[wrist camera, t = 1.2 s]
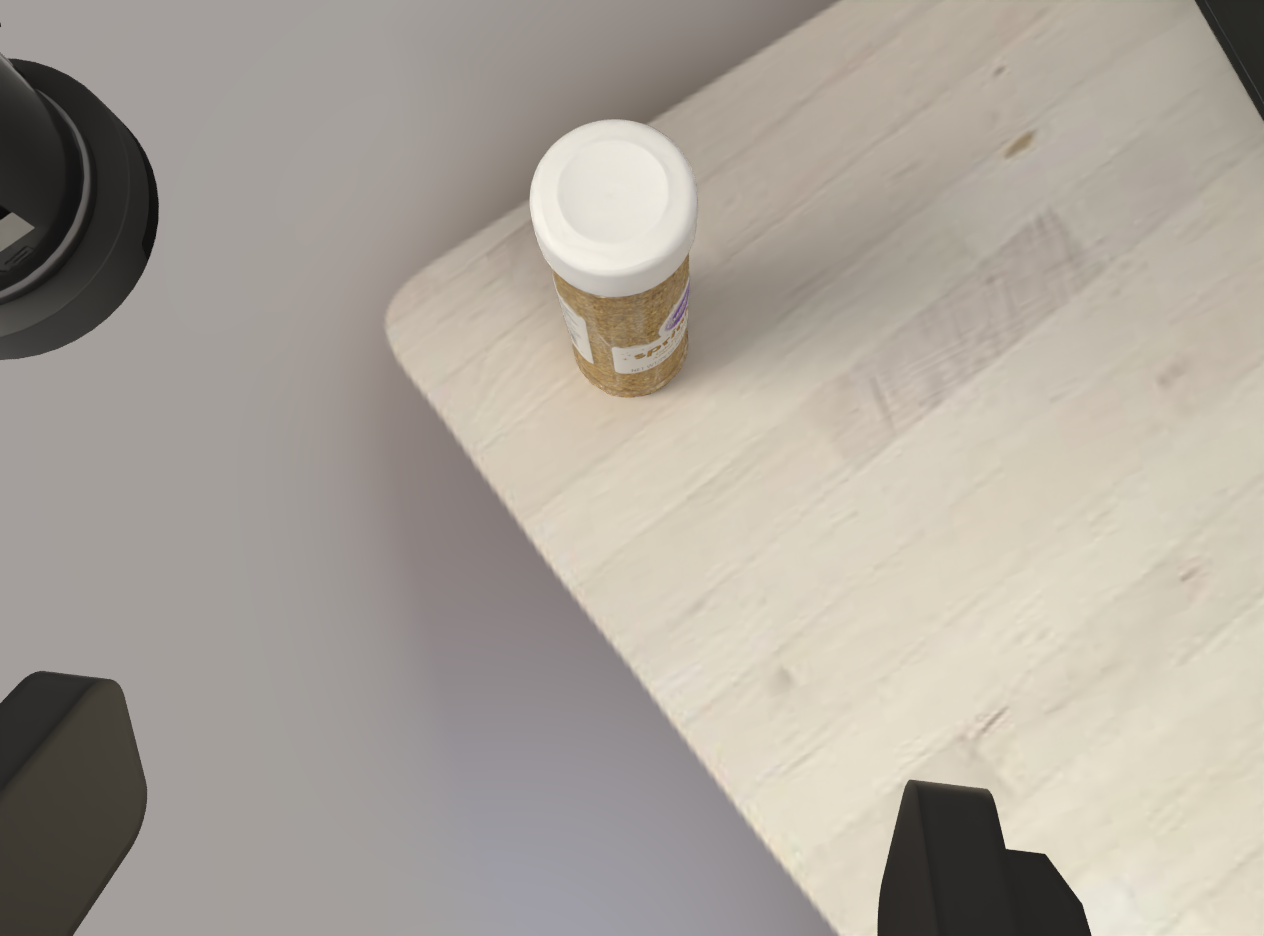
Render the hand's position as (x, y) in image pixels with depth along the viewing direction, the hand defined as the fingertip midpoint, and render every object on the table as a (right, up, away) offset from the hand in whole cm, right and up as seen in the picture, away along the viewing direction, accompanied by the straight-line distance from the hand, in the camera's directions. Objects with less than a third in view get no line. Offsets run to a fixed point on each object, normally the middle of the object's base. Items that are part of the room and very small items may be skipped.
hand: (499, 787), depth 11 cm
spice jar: (+1, +8, +31) cm, 32 cm away
